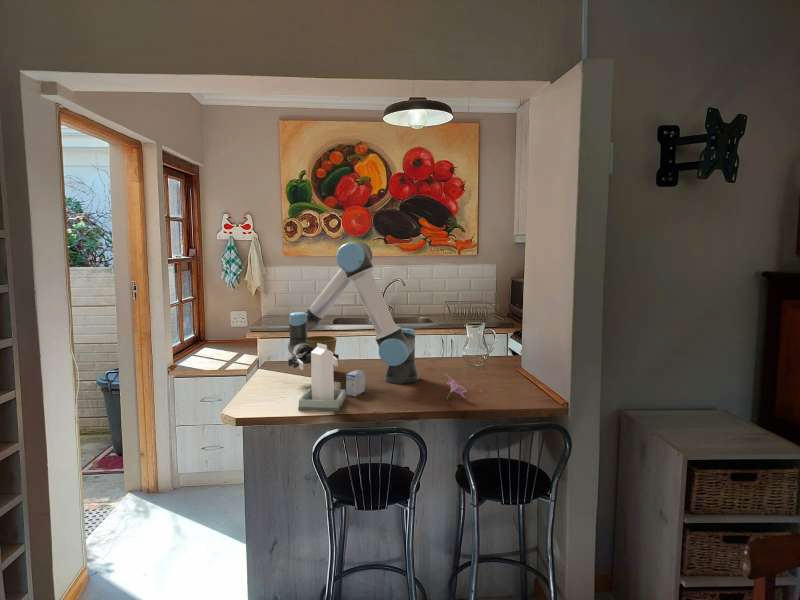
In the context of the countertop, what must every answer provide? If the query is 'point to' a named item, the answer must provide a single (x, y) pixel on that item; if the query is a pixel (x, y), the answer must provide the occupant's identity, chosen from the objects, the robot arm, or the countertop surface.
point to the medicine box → (355, 382)
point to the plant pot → (322, 342)
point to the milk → (322, 373)
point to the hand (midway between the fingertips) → (320, 364)
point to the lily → (455, 387)
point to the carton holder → (322, 401)
